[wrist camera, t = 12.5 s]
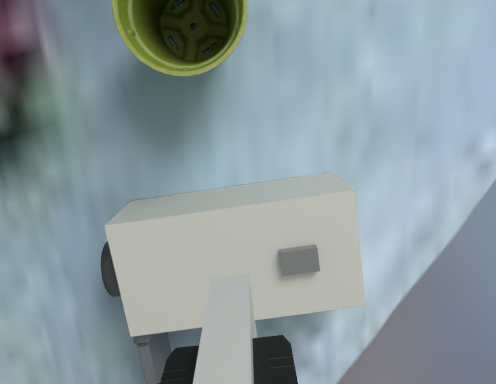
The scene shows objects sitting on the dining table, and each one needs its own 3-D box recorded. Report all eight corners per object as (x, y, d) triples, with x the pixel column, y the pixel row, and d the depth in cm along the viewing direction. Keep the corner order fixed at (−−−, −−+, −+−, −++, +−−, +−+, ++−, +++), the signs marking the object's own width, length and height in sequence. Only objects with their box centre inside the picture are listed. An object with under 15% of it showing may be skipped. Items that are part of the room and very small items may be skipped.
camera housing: (136, 295, 43) (109, 344, 35) (115, 203, 41) (80, 231, 32) (343, 266, 43) (368, 310, 34) (334, 171, 40) (357, 192, 32)
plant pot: (201, -56, 36) (187, -102, 27) (268, 35, 38) (274, 18, 29) (121, 16, 37) (83, -7, 29) (189, 101, 39) (172, 103, 30)
